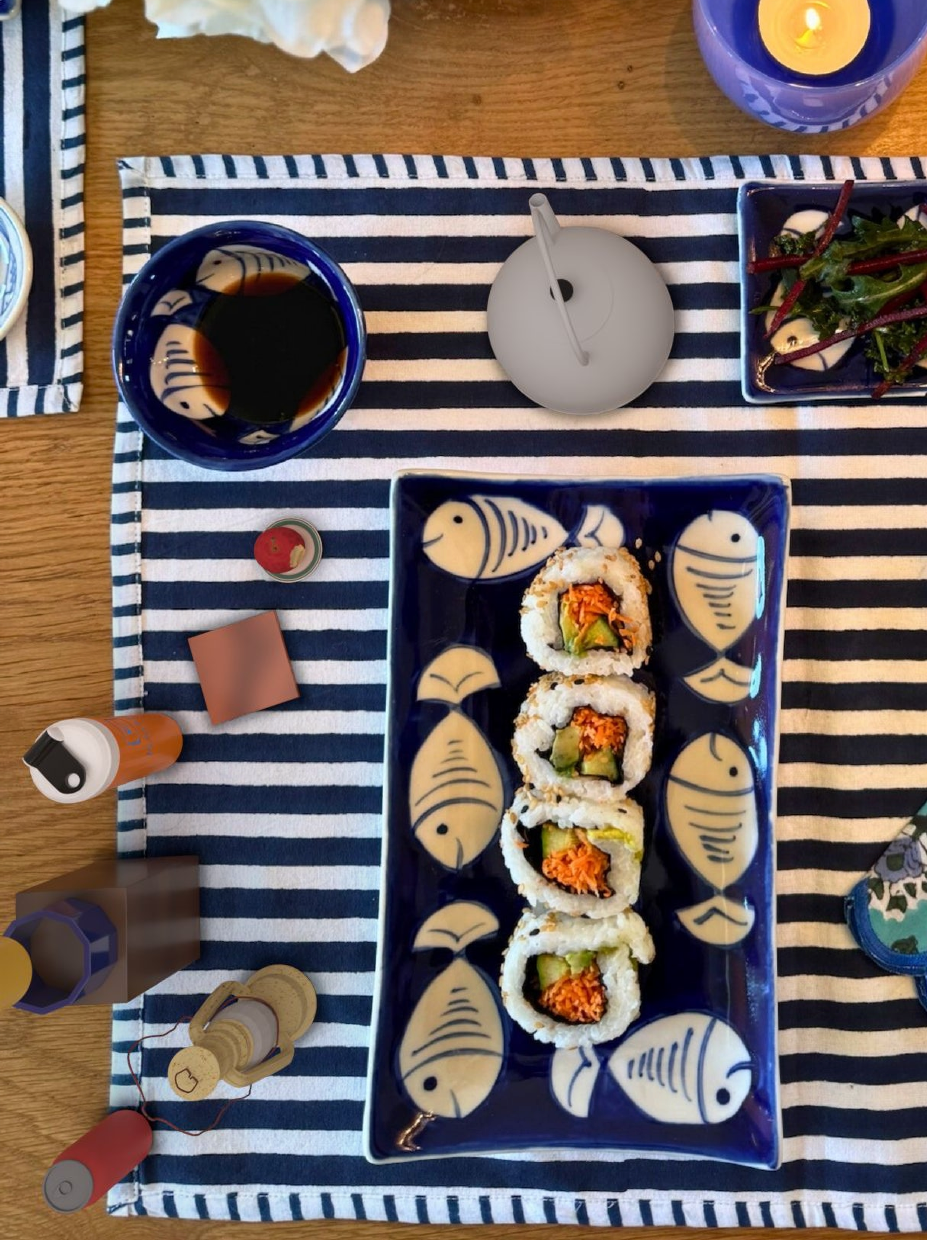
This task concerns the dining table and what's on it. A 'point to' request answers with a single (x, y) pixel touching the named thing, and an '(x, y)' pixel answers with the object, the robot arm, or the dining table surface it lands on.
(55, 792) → the shaker bottle
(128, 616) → the dining table surface
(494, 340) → the kettle
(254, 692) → the coaster
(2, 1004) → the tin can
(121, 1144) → the beer can
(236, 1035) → the lantern
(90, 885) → the stand
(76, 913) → the blue faceted ring
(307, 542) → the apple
